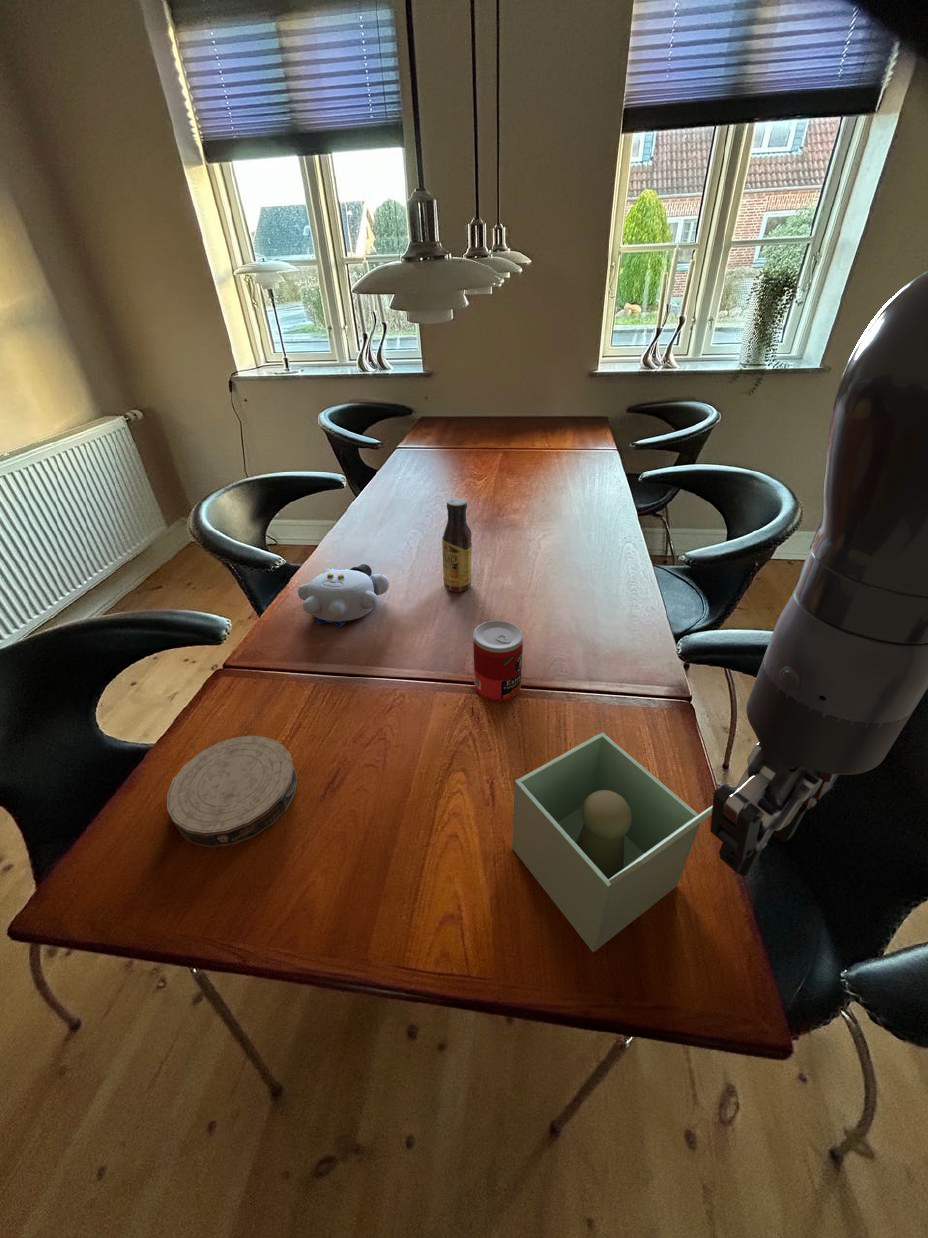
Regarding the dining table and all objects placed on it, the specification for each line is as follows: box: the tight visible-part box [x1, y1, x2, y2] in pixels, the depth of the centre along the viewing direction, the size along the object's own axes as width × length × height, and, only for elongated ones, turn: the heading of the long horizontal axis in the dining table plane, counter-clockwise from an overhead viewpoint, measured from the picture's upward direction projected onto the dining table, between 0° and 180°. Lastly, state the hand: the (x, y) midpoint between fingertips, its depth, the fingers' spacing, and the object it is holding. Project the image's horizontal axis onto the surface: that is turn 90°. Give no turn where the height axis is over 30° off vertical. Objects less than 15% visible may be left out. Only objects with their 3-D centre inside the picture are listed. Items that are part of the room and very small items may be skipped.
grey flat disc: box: [166, 735, 298, 848], centre depth 71 cm, size 16×16×3 cm
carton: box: [511, 732, 701, 953], centre depth 59 cm, size 14×13×12 cm
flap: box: [609, 804, 713, 885], centre depth 47 cm, size 7×13×1 cm
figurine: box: [297, 563, 390, 628], centre depth 109 cm, size 17×8×20 cm
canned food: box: [472, 620, 524, 703], centre depth 86 cm, size 8×8×11 cm
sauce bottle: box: [441, 497, 473, 593], centre depth 111 cm, size 7×6×20 cm
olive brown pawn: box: [576, 790, 632, 880], centre depth 59 cm, size 6×6×11 cm
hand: (754, 846), depth 40 cm, fingers open, 4 cm apart
